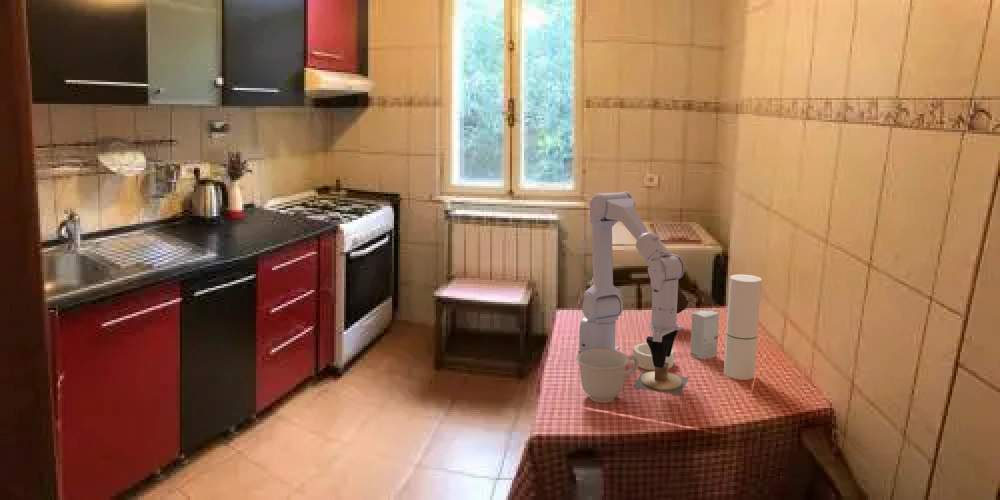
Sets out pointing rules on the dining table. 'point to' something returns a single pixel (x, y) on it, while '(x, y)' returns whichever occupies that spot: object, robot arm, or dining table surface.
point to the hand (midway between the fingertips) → (662, 361)
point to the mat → (675, 391)
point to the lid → (661, 379)
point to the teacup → (604, 372)
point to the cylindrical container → (742, 326)
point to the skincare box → (704, 334)
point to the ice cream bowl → (681, 300)
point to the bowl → (649, 357)
